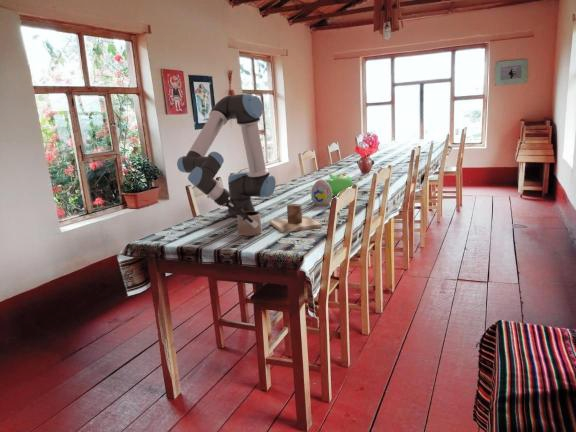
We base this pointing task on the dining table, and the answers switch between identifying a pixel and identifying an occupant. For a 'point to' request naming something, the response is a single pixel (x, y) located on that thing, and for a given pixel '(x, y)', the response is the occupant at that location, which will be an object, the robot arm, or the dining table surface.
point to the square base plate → (295, 220)
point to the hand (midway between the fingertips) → (253, 222)
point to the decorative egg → (321, 193)
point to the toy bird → (339, 182)
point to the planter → (247, 228)
